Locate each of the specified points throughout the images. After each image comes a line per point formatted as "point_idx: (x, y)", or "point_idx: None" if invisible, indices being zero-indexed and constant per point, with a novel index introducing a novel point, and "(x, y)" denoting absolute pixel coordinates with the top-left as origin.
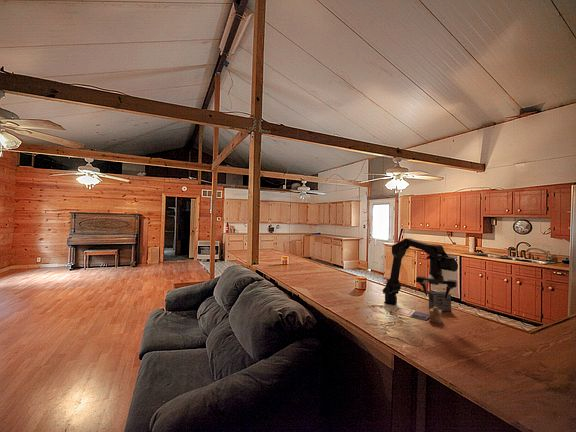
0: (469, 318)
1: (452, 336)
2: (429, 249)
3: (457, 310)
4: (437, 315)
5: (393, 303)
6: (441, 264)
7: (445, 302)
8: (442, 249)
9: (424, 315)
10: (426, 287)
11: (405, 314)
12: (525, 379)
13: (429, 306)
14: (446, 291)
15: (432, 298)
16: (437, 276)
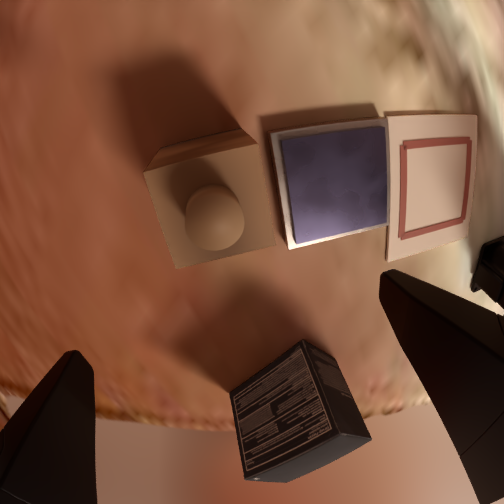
0: (130, 380)
1: (23, 20)
2: None
3: (222, 419)
4: (172, 157)
5: (486, 257)
6: None
7: (259, 423)
8: None
9: (307, 181)
10: (464, 417)
11: (416, 127)
12: None
13: (335, 365)
14: (2, 461)
15: (333, 406)
16: None
